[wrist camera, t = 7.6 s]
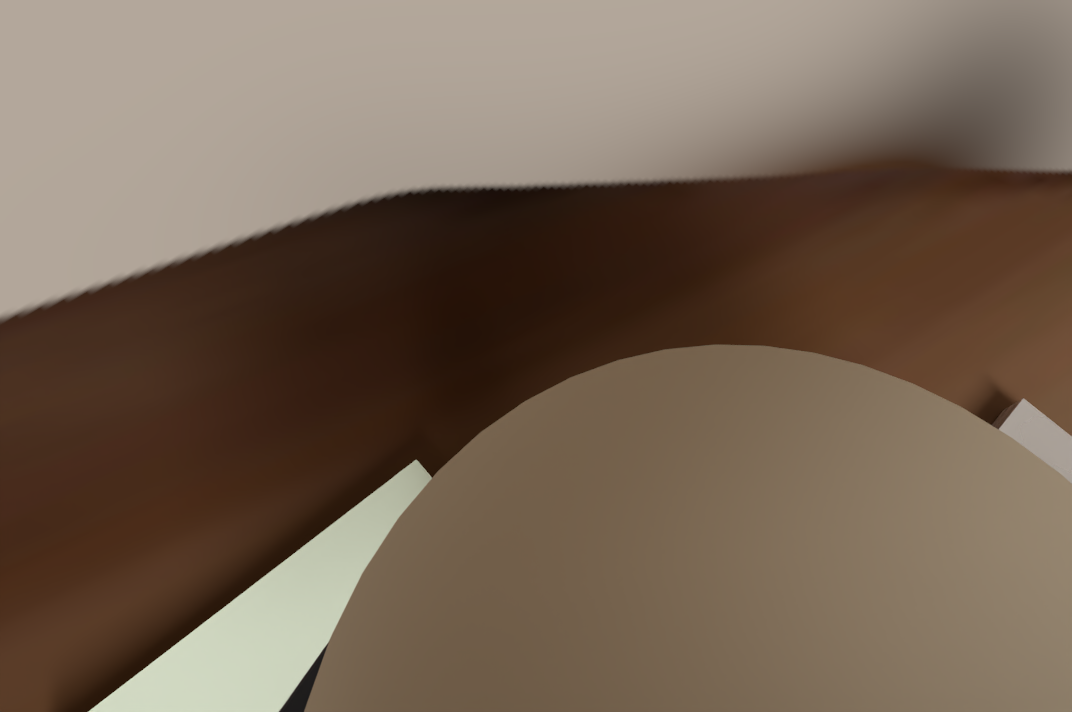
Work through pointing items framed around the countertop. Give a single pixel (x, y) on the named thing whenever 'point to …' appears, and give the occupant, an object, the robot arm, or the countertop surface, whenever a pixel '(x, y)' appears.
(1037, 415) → the grey square socket base
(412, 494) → the green pad
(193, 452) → the countertop surface
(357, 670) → the ash peg
